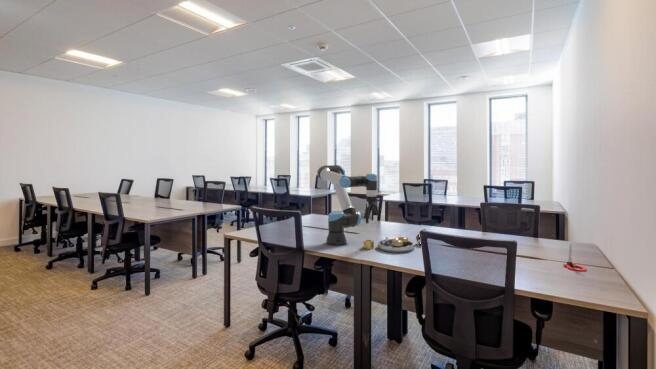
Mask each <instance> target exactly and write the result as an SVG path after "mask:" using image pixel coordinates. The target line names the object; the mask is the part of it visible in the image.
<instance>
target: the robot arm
mask: <svg viewBox="0 0 656 369" xmlns="http://www.w3.org/2000/svg"><path fill="white" fill-rule="evenodd" d="M345 173H346V170H345V169H344V167H343V166H342V165H339V164H335V165H333V164H332V165H322V166H320V167H318V170H317V172H316V175H317V177H318V178H319V179H320V180H322V181H329V182H330V184H332V185H333V188H334V190H335V195H336V196H337V199H338V202H339V205H340V208H341V210H336V211H331V212H329V213H328V215H327V222H328V224H327V225H328V229H327V230H328V234H327V236H326V240H325V241H326V242H325V243H326V245H328V246H343V245H347V243H348V240H347V237H346V235H345V229H347V228H348V229H349V228H355V227H359V225H361V223H362V215H361V212H360V211H359V210H357V209H356V208H355V206H353V204H352V202H351V199H350V196H349V193H348V191H347V188H360V187H365V189H366V190H365V192H366V193H365V196H366V197H365V198H366V199H365V201H366V202H367V203H365V211H364V216H363V218H364V219H365V228H366V229H370V227H371V221H370V220H371V219H370V216H371V213H373V217H372V220H373V221H372V222H373V223H372V224H373V225H378V216H379V208H378V203H377V202H378V175H377V174H376V173H366V175H365V176H364V175H357V176H354V175H353V176H349V175H346V174H345Z"/></svg>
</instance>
